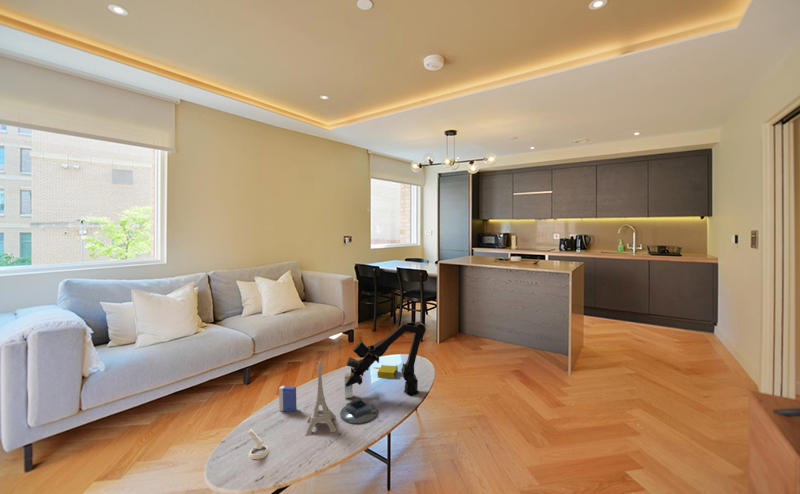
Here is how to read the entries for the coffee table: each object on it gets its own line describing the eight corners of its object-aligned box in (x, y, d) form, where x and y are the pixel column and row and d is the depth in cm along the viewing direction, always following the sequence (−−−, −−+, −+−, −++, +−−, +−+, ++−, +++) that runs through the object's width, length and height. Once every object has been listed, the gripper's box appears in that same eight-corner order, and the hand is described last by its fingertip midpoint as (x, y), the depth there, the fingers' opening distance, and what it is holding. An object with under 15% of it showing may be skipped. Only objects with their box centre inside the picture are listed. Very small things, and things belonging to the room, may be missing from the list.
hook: (237, 438, 137) (252, 425, 140) (255, 460, 138) (270, 446, 141) (235, 445, 130) (251, 430, 133) (255, 468, 131) (270, 453, 134)
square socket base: (364, 400, 178) (364, 392, 178) (384, 414, 164) (384, 405, 164) (333, 412, 167) (333, 403, 166) (352, 428, 153) (352, 418, 152)
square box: (352, 393, 184) (352, 372, 184) (352, 397, 180) (352, 375, 179) (345, 394, 184) (344, 372, 183) (344, 398, 179) (344, 376, 179)
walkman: (296, 409, 170) (296, 385, 169) (294, 412, 167) (293, 388, 166) (282, 408, 171) (281, 385, 170) (279, 410, 168) (278, 387, 168)
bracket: (376, 357, 219) (399, 359, 217) (376, 369, 220) (399, 370, 217) (369, 367, 204) (394, 368, 201) (370, 379, 205) (394, 381, 202)
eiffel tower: (335, 415, 163) (334, 355, 162) (335, 431, 150) (334, 366, 149) (306, 419, 161) (305, 357, 159) (305, 435, 148) (303, 368, 146)
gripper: (355, 347, 191) (336, 367, 190) (355, 359, 172) (334, 382, 171) (369, 360, 192) (350, 380, 191) (371, 373, 173) (349, 396, 172)
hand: (346, 384), depth 181 cm, fingers closed on square box, 4 cm apart
